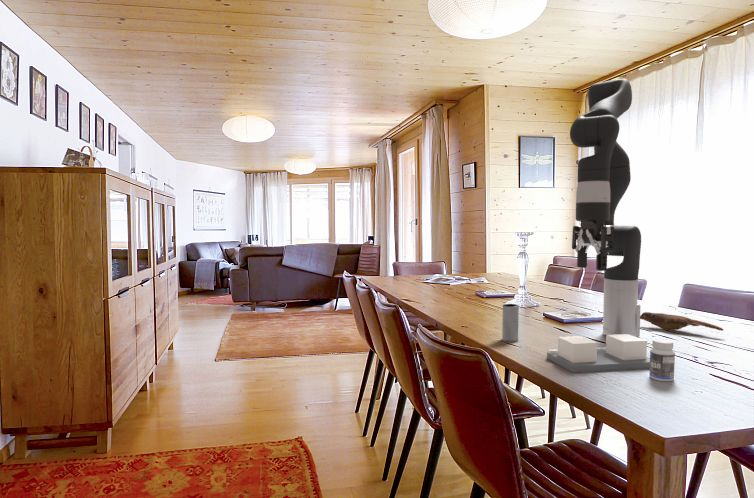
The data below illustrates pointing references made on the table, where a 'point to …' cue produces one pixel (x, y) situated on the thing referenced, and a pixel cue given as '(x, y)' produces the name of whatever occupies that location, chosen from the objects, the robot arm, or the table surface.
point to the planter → (510, 322)
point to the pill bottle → (662, 360)
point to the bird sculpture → (673, 321)
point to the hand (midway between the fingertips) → (591, 269)
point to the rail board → (600, 354)
